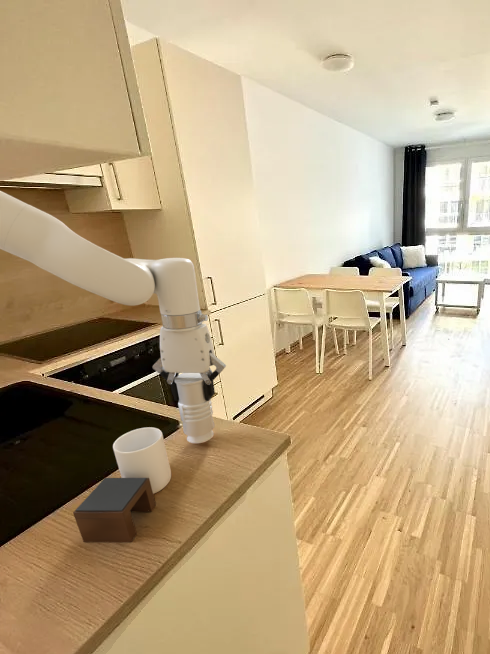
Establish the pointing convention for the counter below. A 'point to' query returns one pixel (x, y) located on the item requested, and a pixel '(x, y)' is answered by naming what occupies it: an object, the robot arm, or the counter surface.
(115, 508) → the shelf
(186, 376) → the white ribbed cylinder
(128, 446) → the mug
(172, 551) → the counter surface
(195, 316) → the robot arm
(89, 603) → the counter surface
